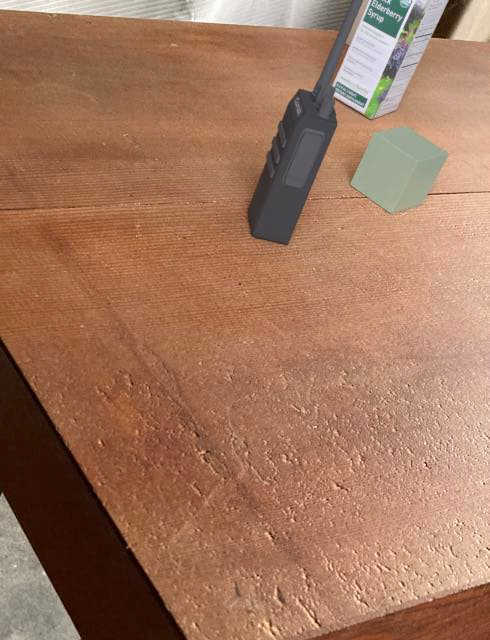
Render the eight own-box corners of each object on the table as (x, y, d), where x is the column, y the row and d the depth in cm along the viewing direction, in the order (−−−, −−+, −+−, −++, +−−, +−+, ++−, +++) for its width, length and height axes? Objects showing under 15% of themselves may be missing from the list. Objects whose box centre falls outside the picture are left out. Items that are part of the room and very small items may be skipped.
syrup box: (325, 95, 102) (390, -59, 91) (354, 86, 105) (418, -62, 95) (370, 121, 100) (441, -32, 89) (397, 111, 103) (468, -37, 93)
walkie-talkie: (243, 208, 81) (346, -58, 66) (282, 217, 81) (392, -45, 67) (248, 238, 77) (357, -34, 63) (288, 248, 78) (406, -20, 64)
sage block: (422, 205, 89) (449, 153, 86) (390, 214, 86) (417, 161, 83) (381, 176, 91) (406, 125, 88) (349, 184, 89) (373, 131, 85)
